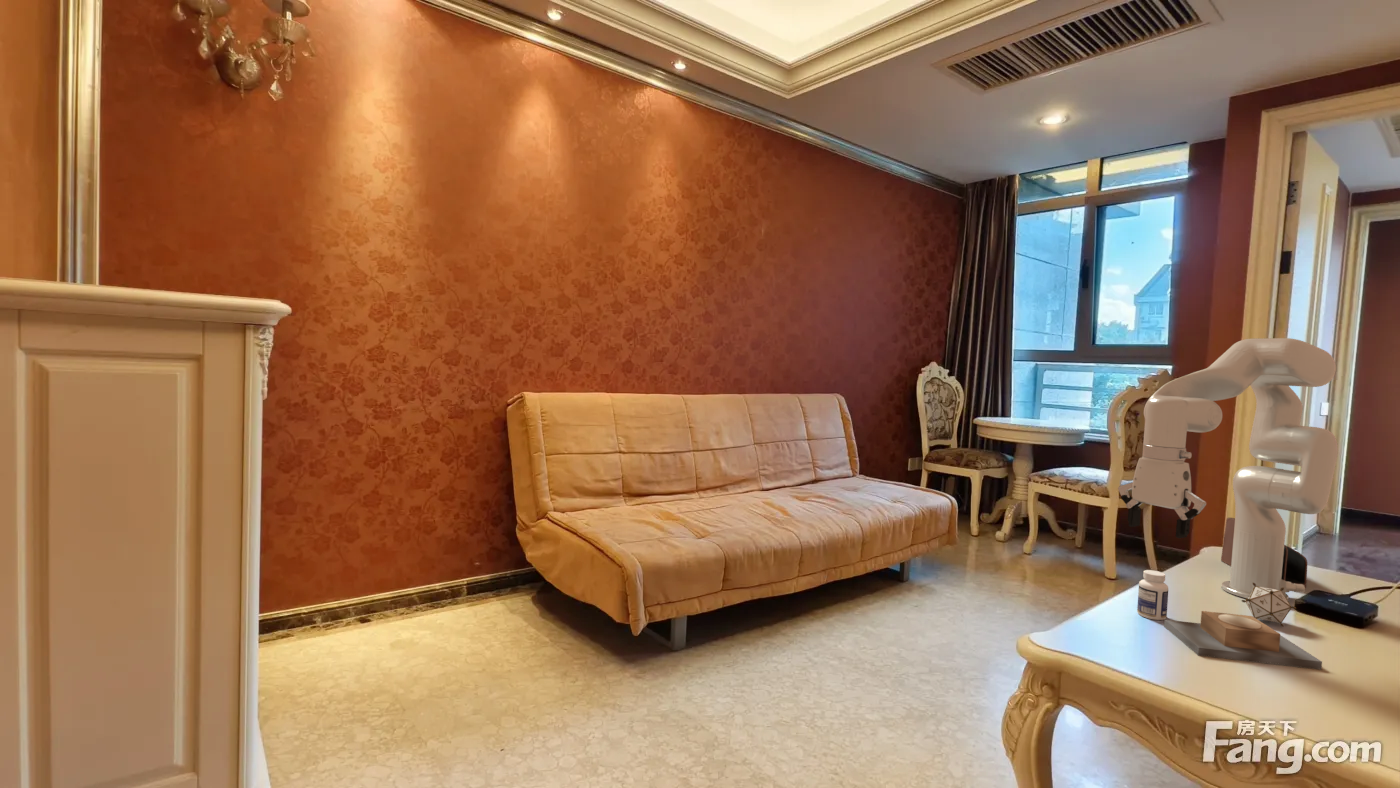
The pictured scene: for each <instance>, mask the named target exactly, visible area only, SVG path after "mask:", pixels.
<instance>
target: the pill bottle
mask: <svg viewBox="0 0 1400 788" xmlns="http://www.w3.org/2000/svg"><path fill="white" fill-rule="evenodd" d="M1142 577H1143V579H1141V580H1139V582H1138V592H1137V594H1138V595H1137V607H1136V608H1137V609H1136V613H1137V614H1138V615H1139V616H1140V617H1144V618H1146V619H1150V620H1153V621H1165V620H1167V617H1168V616H1167V615H1168V604H1169V602H1168V600H1169V586H1168V584H1166V583H1165V581H1166V574H1165V573H1164V572H1162V571H1158V570H1153V569H1146V570H1143V574H1142Z"/></svg>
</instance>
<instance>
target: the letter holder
mask: <svg viewBox="0 0 1400 788" xmlns="http://www.w3.org/2000/svg"><path fill="white" fill-rule="evenodd" d="M1234 527H1235V517H1227V518H1226V521H1225V527H1224V528H1225V529H1224V534H1223V542H1222V550H1221V558H1220V561H1221V562H1222V563H1224V564H1226V565H1227V566H1229V567H1231V563H1232V551H1233V538H1234ZM1281 579H1282V580H1284V581H1286V582H1291V584H1302V585H1304V587H1305V589H1306V588H1307V581H1308V559H1307V558H1306V557H1305V556H1304V555H1303V554H1302V553H1300V552H1299V551H1296V549H1294V548H1292V547H1290V546H1288V545H1286V544H1284V555H1283V566H1282V578H1281Z"/></svg>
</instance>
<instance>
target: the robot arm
mask: <svg viewBox="0 0 1400 788" xmlns="http://www.w3.org/2000/svg"><path fill="white" fill-rule="evenodd" d="M1336 370H1337V365H1336V362H1335V359H1334V357H1333V356H1332V355H1331V354H1330V353H1329V352H1328V351H1326V350H1324V349H1322V348H1320V347H1318V346H1315V345H1314V344H1311V343H1308V342H1306V341H1304V340H1300V339H1297V338H1292V337H1291V338H1290V337H1287V338H1285V337H1278V338H1277V337H1276V338H1275V337H1274V338H1272V337H1271V338H1265V337H1264V338H1259V337H1258V338H1246V339H1242V340H1239V341H1237V342H1235V343H1233V344H1232V345H1231V346H1230V347H1229V348H1228V349H1227V350H1226V351H1225V352H1223V353H1222V354H1221V355H1220V356H1219V357H1218V358H1217V359H1215V361H1214V362H1213V363H1211V364H1210V365H1209V366H1208V367H1207V368H1204V369H1201V370H1197V371H1193V372H1191V373H1189V374H1185V375H1183V376H1181V377H1178V378H1175V379H1173V380H1171V381H1168V382H1166V383H1165V384H1163V385H1162V386H1161V387H1159V388H1158V389H1157V390H1156V391H1155V392H1154V393H1153V394H1152V395H1150V397H1149V398H1148V400H1147V401H1146V402H1145V405H1144V408H1143V416H1144V432H1143V444H1142V445H1143V446H1142V456H1141V457H1139V458H1138V461H1137V464H1136V467H1135V470H1134V473H1133V474H1134V475H1133V478H1132V479H1133V481H1132V482H1129V483H1125V484H1122V485H1119V486H1118V487H1117V489H1118V490H1117V491H1118V492H1119V495H1120V496H1121V497H1120V498H1121V500H1122V501H1123V503H1125V507H1126V508H1127V509H1128V513H1127V522H1128V526H1129V527H1131V528H1132V527H1133V528H1134V527H1139V526H1140V525H1141V524H1140V523H1141V514H1142V509H1141V508H1140V506H1141V505H1142V504H1146V505H1150V506H1157V507H1161V508H1165V509H1171V510H1174V511H1175V512H1176V514H1177V515H1178V517H1179V518H1177V520H1176V527H1175V528H1176V529H1175V537H1176V538H1177V539H1183V538H1187V537H1188V535H1189V533H1190V527H1191V520H1193V519H1194V518H1195V517H1196V516H1198V515H1200V514H1201V512H1202V511H1203V510H1204V509H1205V507H1206V506H1207V501H1205V500H1203V498H1200V497H1199V496H1197V495H1196V494H1194V493H1193V492H1192V476H1191V475H1192V474H1191V470H1190V463H1189V462H1185V461H1186V459H1191V458H1192V456H1193V455H1192V452H1191V451H1190V452H1189V451H1187V448H1186V444H1187V433H1188V432H1190V433H1191V432H1193V433H1207V432H1211V431H1213V430H1216V429H1217V427H1219V425H1220V424H1221V423H1222V420H1223V411H1222V408H1221V407H1220V405H1219V404H1217V402H1215V401H1222V400H1223V401H1224V400H1227V399H1232V398H1235V397H1238V396H1239V395H1241V394H1243V393H1244V392H1245V391H1246V390H1247V389H1248V388H1249V387H1251V390H1252V391H1253V393H1254V396H1255V397H1254V398H1255V401H1256V402H1255V403H1256V407H1255V412H1254V416H1253V417H1254V418H1253V422H1252V428H1251V433H1250V437H1249V438H1250V439H1249V444H1248V450H1249V454H1250V455H1251V456H1252V457H1253V458H1255V459H1257V460H1259V461H1264V462H1268V463H1269V462H1270V463H1274V464H1275V463H1277V464H1282V465H1283V464H1284V465H1290V466H1298V467H1301V471H1296V470H1289V469H1283V468H1277V467H1270V466H1261V465H1247V466H1243V467H1241V468H1240V469H1239V468H1238V470H1237V471H1236V472H1235V473H1234V476H1233V479H1232V489H1233V490H1232V491H1233V496H1234V497H1233V498H1234V506H1235V508H1234V509H1235V510H1234V511H1235V516H1234V518H1235V527H1234V538H1233V551H1232V563H1231V566H1230V576H1229V577H1230V578H1229V580H1226V581H1222V582H1221V588H1222V590H1224V591H1225V592H1227V593H1229V594H1230V595H1231V594H1232V595H1233V596H1237V597H1240V598H1242V599H1243V598H1244V599H1246V598H1248V596H1249V594H1250V593H1251V591H1252V590H1253V588H1254V587H1255V586H1254V585H1253V583H1255V584H1256V586H1260V587H1266V588H1272V589H1278V590H1280V589H1281V588H1283V587H1284V590H1282V592H1283V594H1284V595H1285V597H1286V599H1287V600H1288V601H1289V595H1288V594H1287V593H1289V592H1294V593H1305V592H1306V588H1305V587H1304V585H1302V584H1291V582H1286V581H1284V580H1282V579H1281V578H1282V566H1283V555H1284V545H1285V543H1286V533H1287V531H1286V524H1285V521H1284V519H1283V517H1282V516H1281V514H1280V513H1279V511H1278V510H1283V511H1288V512H1293V513H1299V514H1306V515H1316V514H1319V513H1322V511H1324V510H1325V508H1327V504H1328V501H1329V499H1330V493H1331V489H1332V484H1333V479H1334V475H1335V469H1336V466H1337V459H1338V453H1339V452H1338V451H1339V446H1338V441H1337V438H1336V436H1335V435H1334V433H1332V432H1331V431H1330V430H1328V429H1327V428H1321V427H1317V426H1305V425H1301V421H1302V420H1301V419H1302V415H1303V407H1304V406H1303V403H1302V401H1301V399H1300V397H1299V395H1297V393H1296V392H1295V391H1294V390H1293V388H1291V387H1308V388H1318V387H1322V386H1327V384H1329V383H1330V382H1331V381H1332V380H1333V378H1334V377H1335V374H1336ZM1130 490H1131V495H1130V493H1129V491H1130ZM1192 503H1193V507H1192V508H1191V509H1189V507H1191V504H1192Z"/></svg>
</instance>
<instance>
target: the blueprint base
mask: <svg viewBox="0 0 1400 788" xmlns="http://www.w3.org/2000/svg"><path fill="white" fill-rule="evenodd" d="M1200 612H1201V613H1200V614H1201V615H1200V623H1199V622H1193V621H1192V622H1191V621H1179V620H1172V619H1164V620H1163V621H1164V624H1163V627H1164V628H1165V629H1166V630H1168V631H1169V633H1171V634H1172V635H1174V636H1175V637H1176V638H1177V639H1178V640H1180V641H1181V643H1183V644H1184V645H1185V646H1186V647H1188V648H1189V649H1190V650H1191V651H1192V652H1193V653H1195V654H1196V655H1197V656H1202V657H1208V658H1209V657H1210V658H1219V659H1226V660H1227V659H1228V660H1234V661H1235V660H1236V661H1243V662H1252V663H1261V664H1269V665H1270V664H1271V665H1279V666H1286V667H1287V666H1288V667H1295V668H1296V667H1297V668H1305V669H1312V670H1314V669H1315V670H1319V671H1321V670H1322V668H1323V667H1322V666H1323V661H1321V659H1319V658H1317V657H1315V656H1314V655H1312V654H1311V653H1309V652H1307V651H1306V650H1304V649H1303V648H1301V647H1299V646H1298V645H1297V644H1295V643H1294V642H1292V641H1290V640H1289V639H1287V638H1286V637H1284V636H1283V635H1281V633H1280V632H1278V631H1276V630H1275V629H1274V628H1272V627H1270V626H1269V625H1267V624H1266V623H1263V622H1262V620H1260V619H1256V618H1254V617H1253V615H1244V614H1235V613H1227V612H1226V613H1225V612H1217V611H1216V612H1215V611H1206V610H1205V611H1204V610H1201V611H1200Z"/></svg>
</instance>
